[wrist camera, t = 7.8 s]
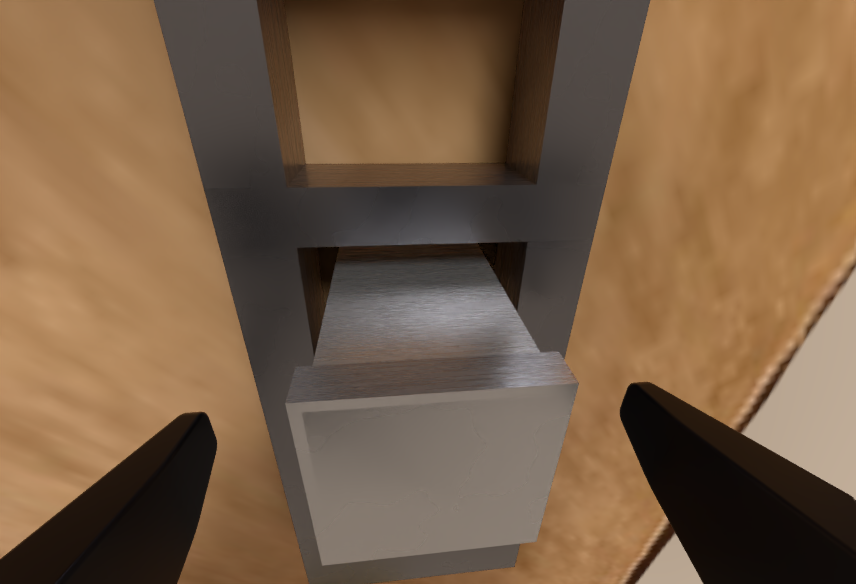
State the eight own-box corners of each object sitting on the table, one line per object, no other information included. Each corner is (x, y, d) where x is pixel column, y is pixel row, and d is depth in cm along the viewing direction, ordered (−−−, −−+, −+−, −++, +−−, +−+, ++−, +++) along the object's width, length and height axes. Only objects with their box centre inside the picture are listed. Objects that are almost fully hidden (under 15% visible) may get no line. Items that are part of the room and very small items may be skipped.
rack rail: (499, 512, 20) (514, 566, 18) (318, 530, 19) (310, 590, 17) (653, -343, 7) (776, -528, 5) (116, -417, 6) (-29, -688, 4)
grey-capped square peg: (468, 341, 14) (536, 541, 8) (347, 348, 14) (322, 565, 8) (478, 227, 12) (578, 383, 6) (334, 231, 12) (285, 403, 6)
